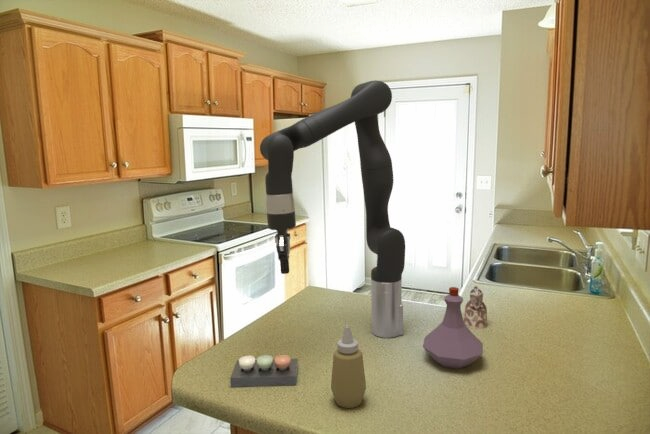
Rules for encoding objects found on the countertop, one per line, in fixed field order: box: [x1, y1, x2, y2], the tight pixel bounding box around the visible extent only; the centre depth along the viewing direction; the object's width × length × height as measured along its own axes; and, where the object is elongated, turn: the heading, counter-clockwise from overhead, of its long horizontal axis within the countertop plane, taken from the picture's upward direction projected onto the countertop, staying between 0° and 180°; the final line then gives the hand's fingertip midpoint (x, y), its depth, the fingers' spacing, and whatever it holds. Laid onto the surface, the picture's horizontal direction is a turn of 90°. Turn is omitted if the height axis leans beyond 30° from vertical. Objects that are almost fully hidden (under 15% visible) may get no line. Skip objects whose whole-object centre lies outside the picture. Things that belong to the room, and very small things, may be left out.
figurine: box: [463, 285, 488, 330], centre depth 142 cm, size 7×7×12 cm
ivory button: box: [238, 355, 256, 372], centre depth 113 cm, size 4×4×4 cm
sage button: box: [256, 354, 274, 371], centre depth 113 cm, size 4×4×4 cm
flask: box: [422, 286, 484, 370], centre depth 118 cm, size 16×16×20 cm
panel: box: [229, 358, 299, 388], centre depth 114 cm, size 16×9×2 cm, turn 90°
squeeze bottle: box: [330, 325, 367, 409], centre depth 100 cm, size 8×8×18 cm
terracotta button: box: [274, 354, 291, 370], centre depth 113 cm, size 4×4×4 cm
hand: (285, 272), depth 122 cm, fingers closed
